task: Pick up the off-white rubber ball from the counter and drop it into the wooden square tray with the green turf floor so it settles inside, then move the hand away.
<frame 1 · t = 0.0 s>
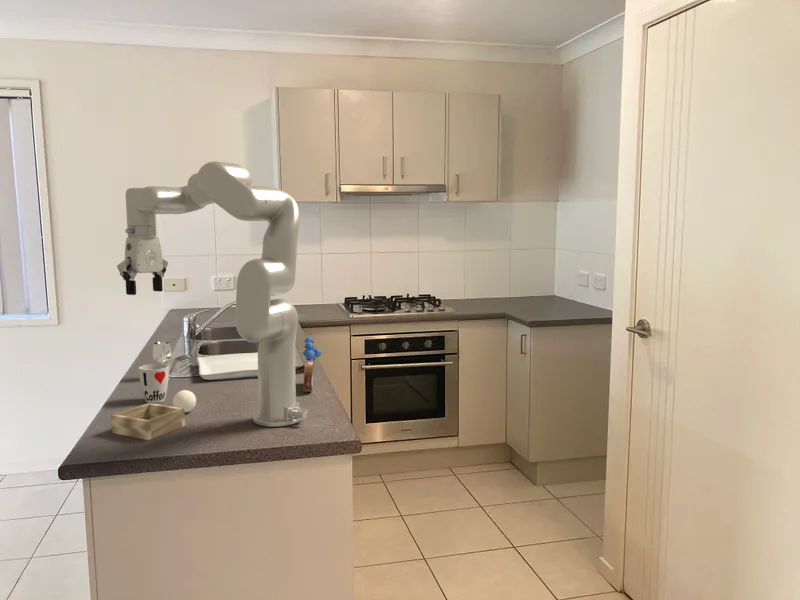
hand: (144, 292, 185), 31 cm above the worktop, fingers open, 9 cm apart
tin: (309, 389, 201), on the worktop
cup: (155, 401, 188), on the worktop
wineglass: (163, 379, 213), on the worktop
grapes: (312, 370, 226), on the worktop
wooden square tray: (149, 429, 162), on the worktop
square plate: (239, 372, 225), on the worktop
ball: (184, 401, 177), point 3 cm above the worktop
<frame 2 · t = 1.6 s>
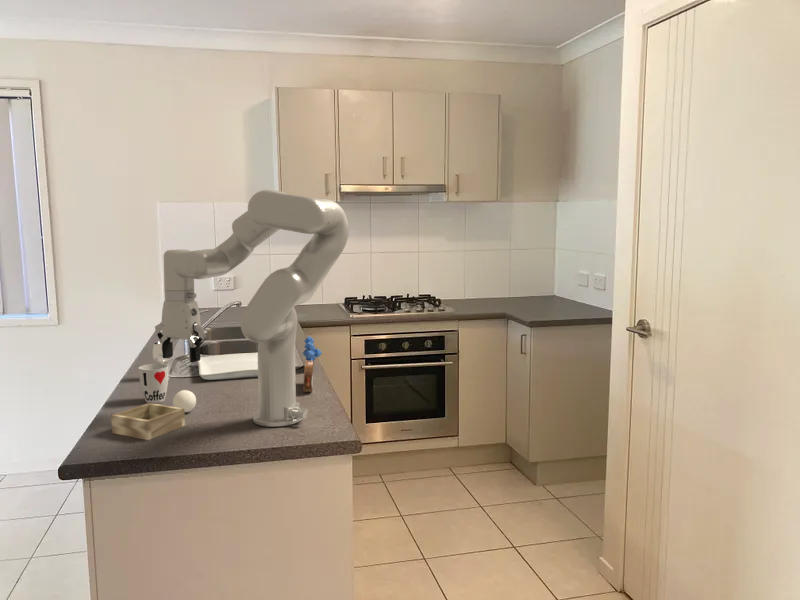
hand: (181, 359, 175), 15 cm above the worktop, fingers open, 9 cm apart
nothing on the worktop moved.
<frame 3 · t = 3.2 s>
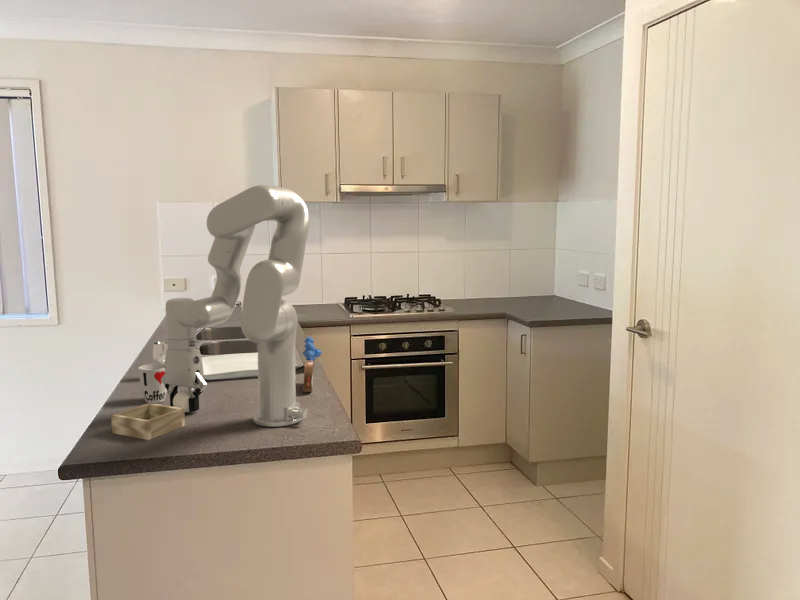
hand: (184, 408, 177), 1 cm above the worktop, fingers closed on ball, 5 cm apart
ball: (184, 401, 177), point 3 cm above the worktop, touching gripper
everything else where it was.
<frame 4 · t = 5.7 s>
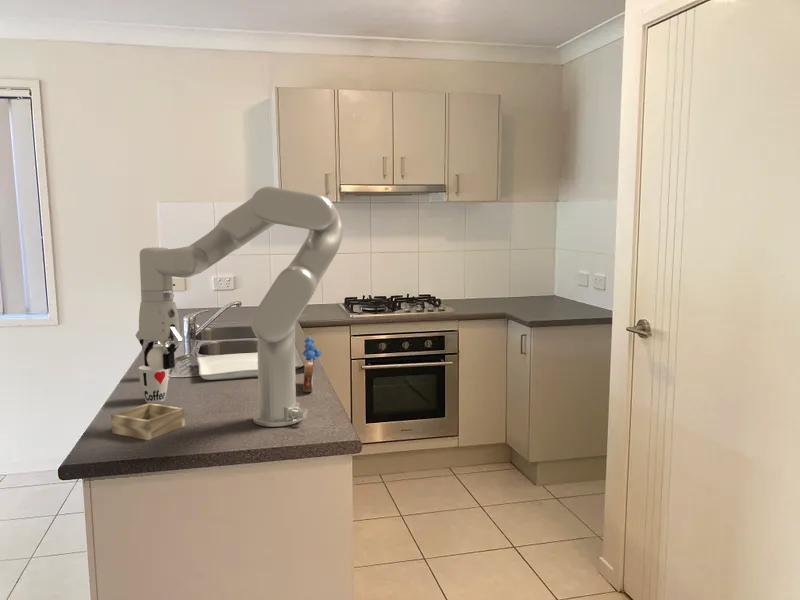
hand: (159, 366, 166), 15 cm above the worktop, fingers closed on ball, 5 cm apart
ball: (159, 358, 166), point 17 cm above the worktop, touching gripper
everything else where it was.
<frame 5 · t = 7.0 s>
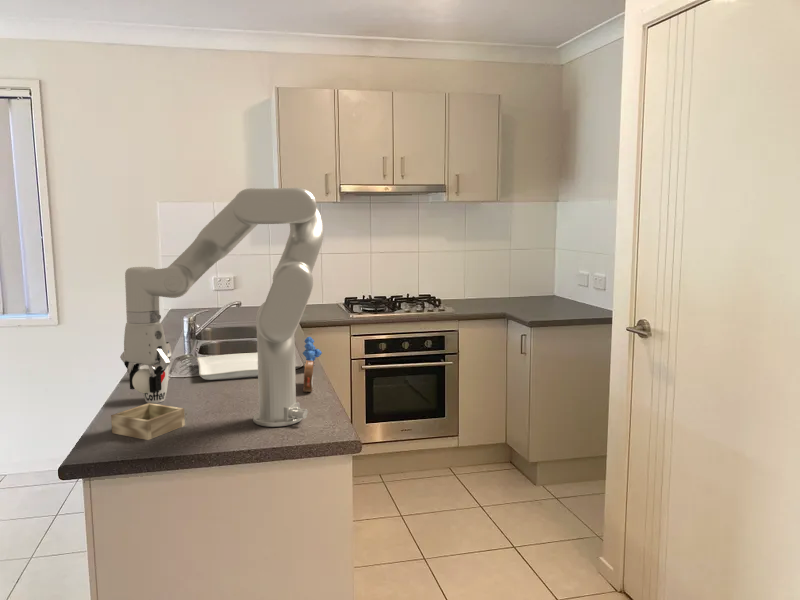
hand: (145, 389, 161), 10 cm above the worktop, fingers closed on ball, 5 cm apart
ball: (145, 380, 161), point 12 cm above the worktop, touching gripper
everything else where it was.
when the fingers open (6 cm above the worktop, at t = 8.2 s): ball drops 5 cm, resting on wooden square tray.
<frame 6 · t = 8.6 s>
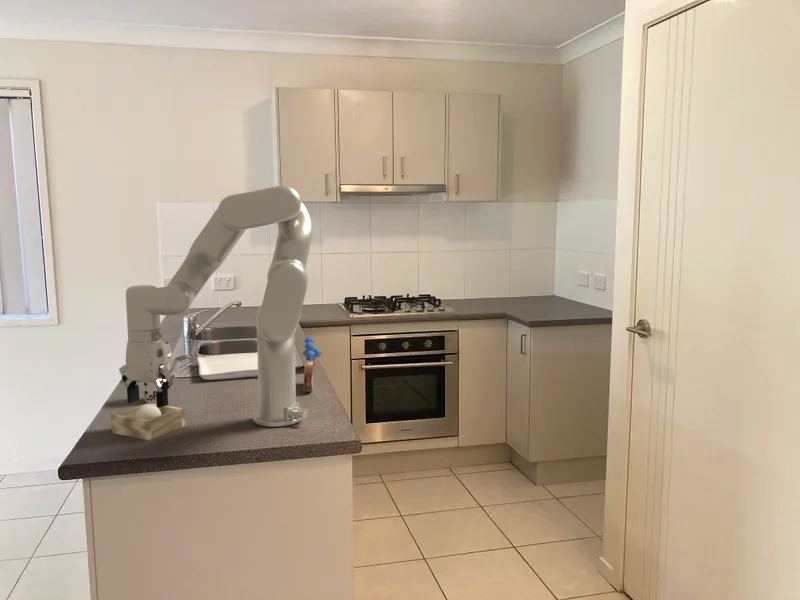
hand: (147, 404, 162), 6 cm above the worktop, fingers open, 9 cm apart
ball: (148, 416, 162), point 3 cm above the worktop, touching wooden square tray
everything else where it was.
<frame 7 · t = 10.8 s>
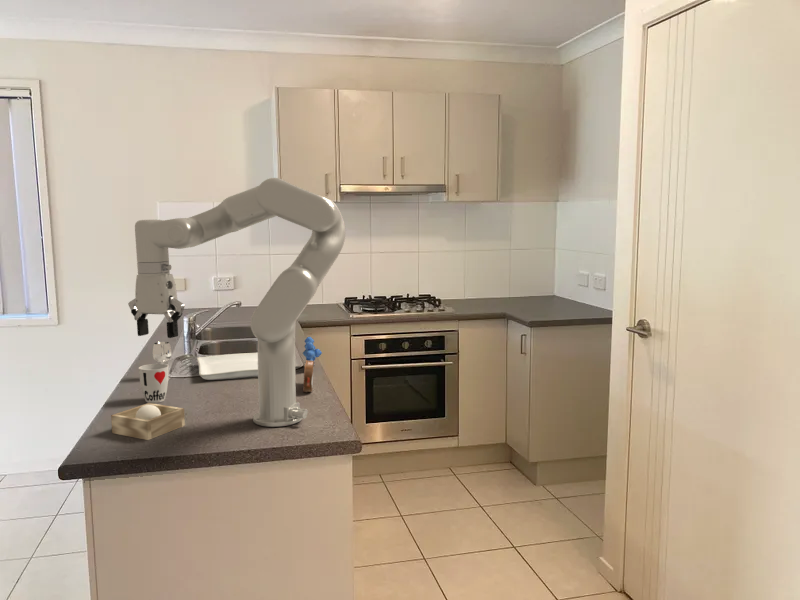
hand: (157, 336, 166), 22 cm above the worktop, fingers open, 9 cm apart
nothing on the worktop moved.
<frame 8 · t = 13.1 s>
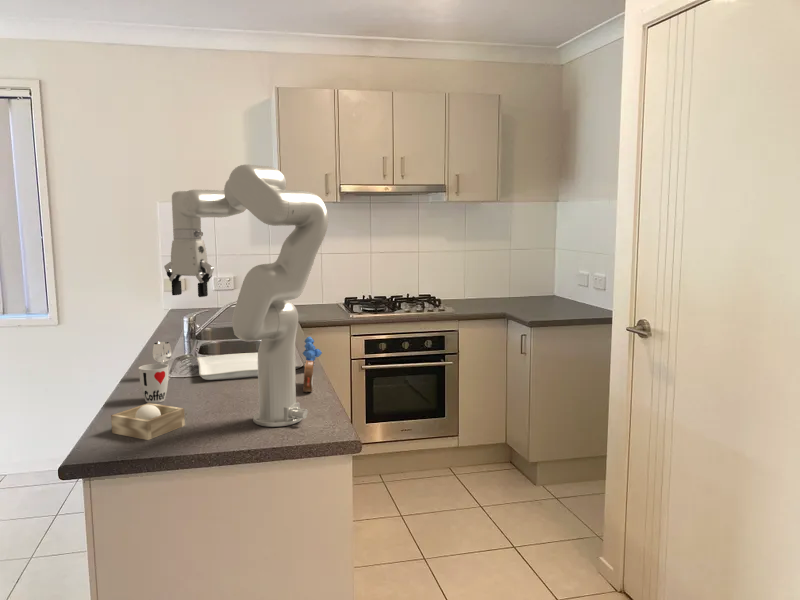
hand: (189, 295, 186), 30 cm above the worktop, fingers open, 9 cm apart
nothing on the worktop moved.
at the end: ball 0.1 cm from the wooden square tray (horizontally); ball point 3.2 cm above the worktop; the gripper is holding nothing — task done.
